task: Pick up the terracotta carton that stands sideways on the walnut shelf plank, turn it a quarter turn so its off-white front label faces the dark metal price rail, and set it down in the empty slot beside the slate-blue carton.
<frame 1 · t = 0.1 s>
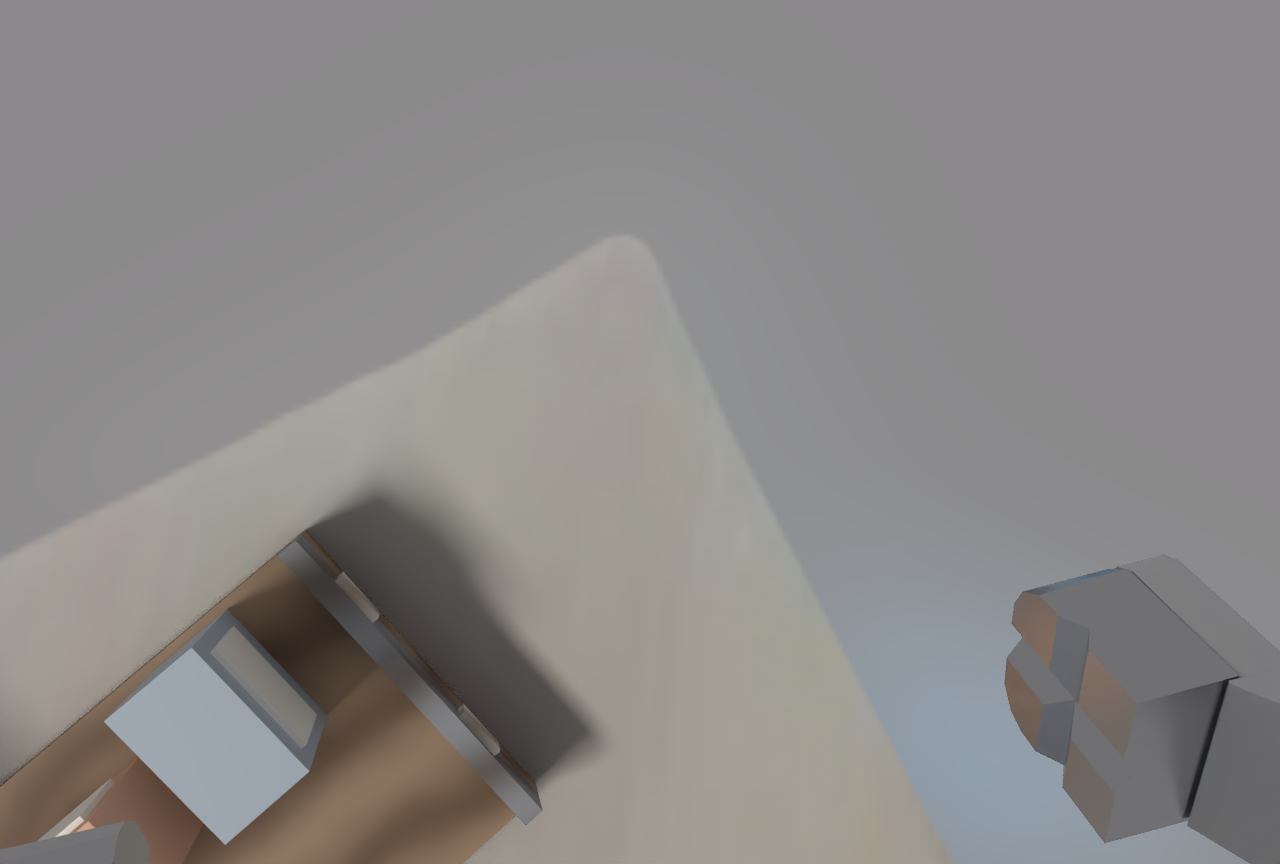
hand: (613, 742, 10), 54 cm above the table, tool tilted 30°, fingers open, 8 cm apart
terracotta carton: (79, 807, 58), point 2 cm above the table, touching shelf plank
shelf plank: (258, 802, 62), on the table
slate-blue carton: (277, 662, 60), point 2 cm above the table, touching shelf plank
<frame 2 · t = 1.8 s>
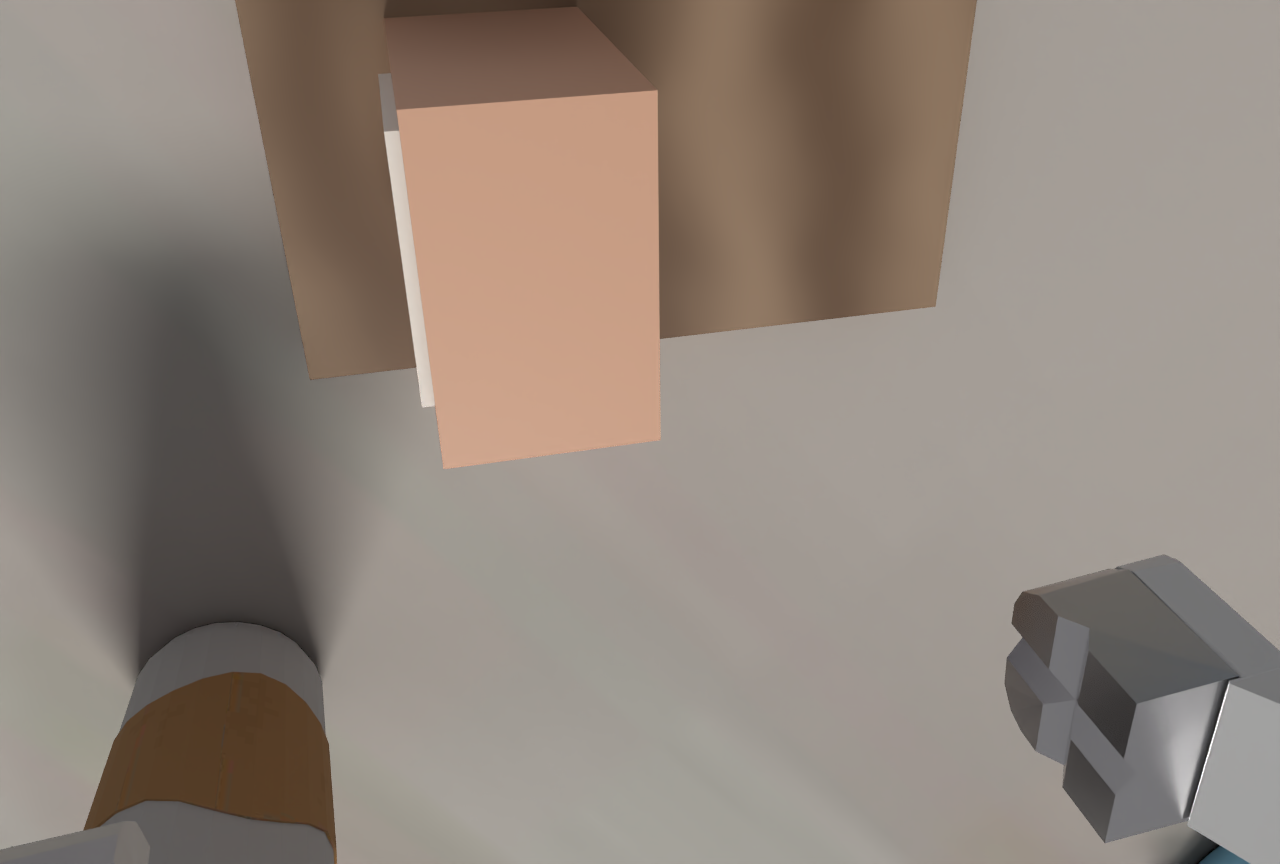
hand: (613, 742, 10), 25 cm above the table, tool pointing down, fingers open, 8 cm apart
terracotta carton: (403, 171, 30), point 2 cm above the table, touching shelf plank
teapot: (1253, 861, 63), on the table
coffee cup: (232, 680, 40), on the table
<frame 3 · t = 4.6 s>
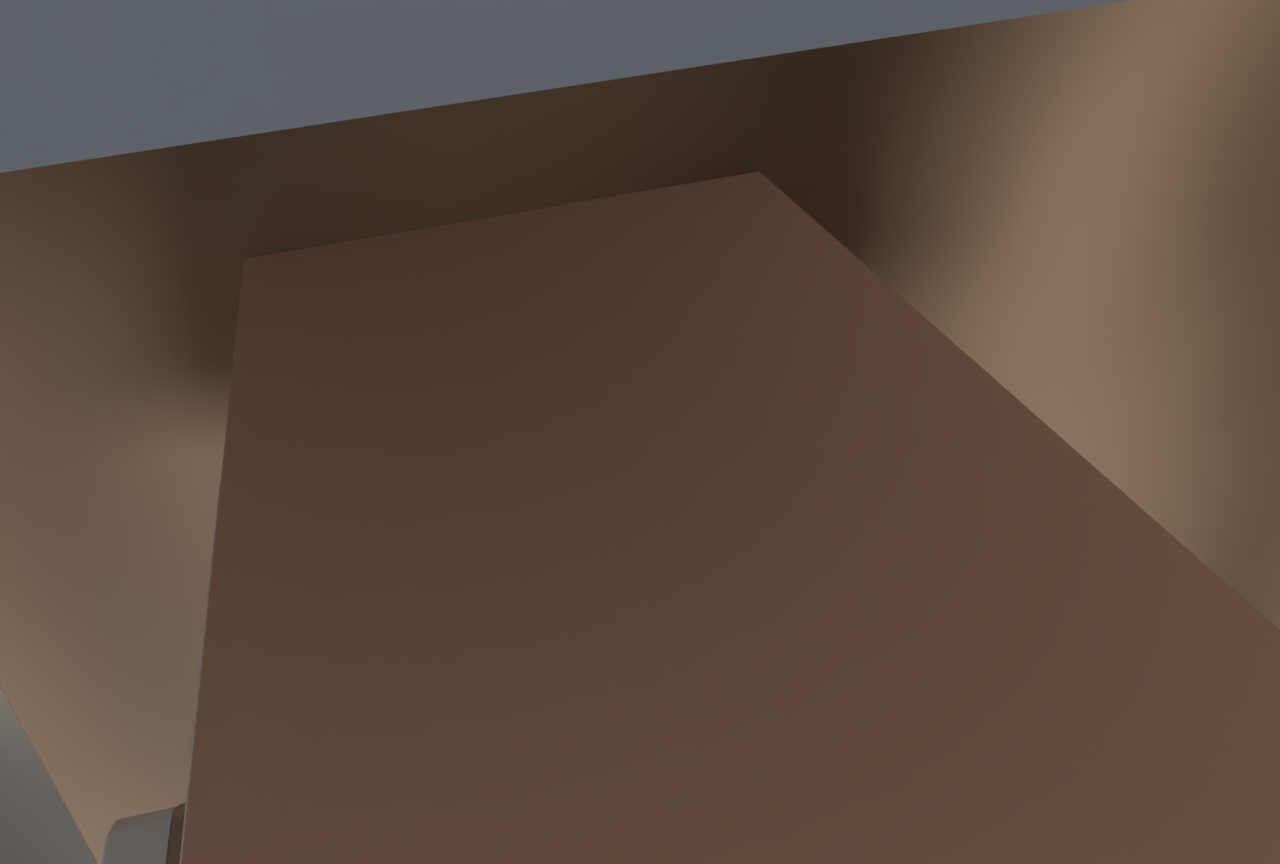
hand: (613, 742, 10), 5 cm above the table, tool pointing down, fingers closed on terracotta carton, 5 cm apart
terracotta carton: (340, 592, 12), point 2 cm above the table, touching gripper, shelf plank
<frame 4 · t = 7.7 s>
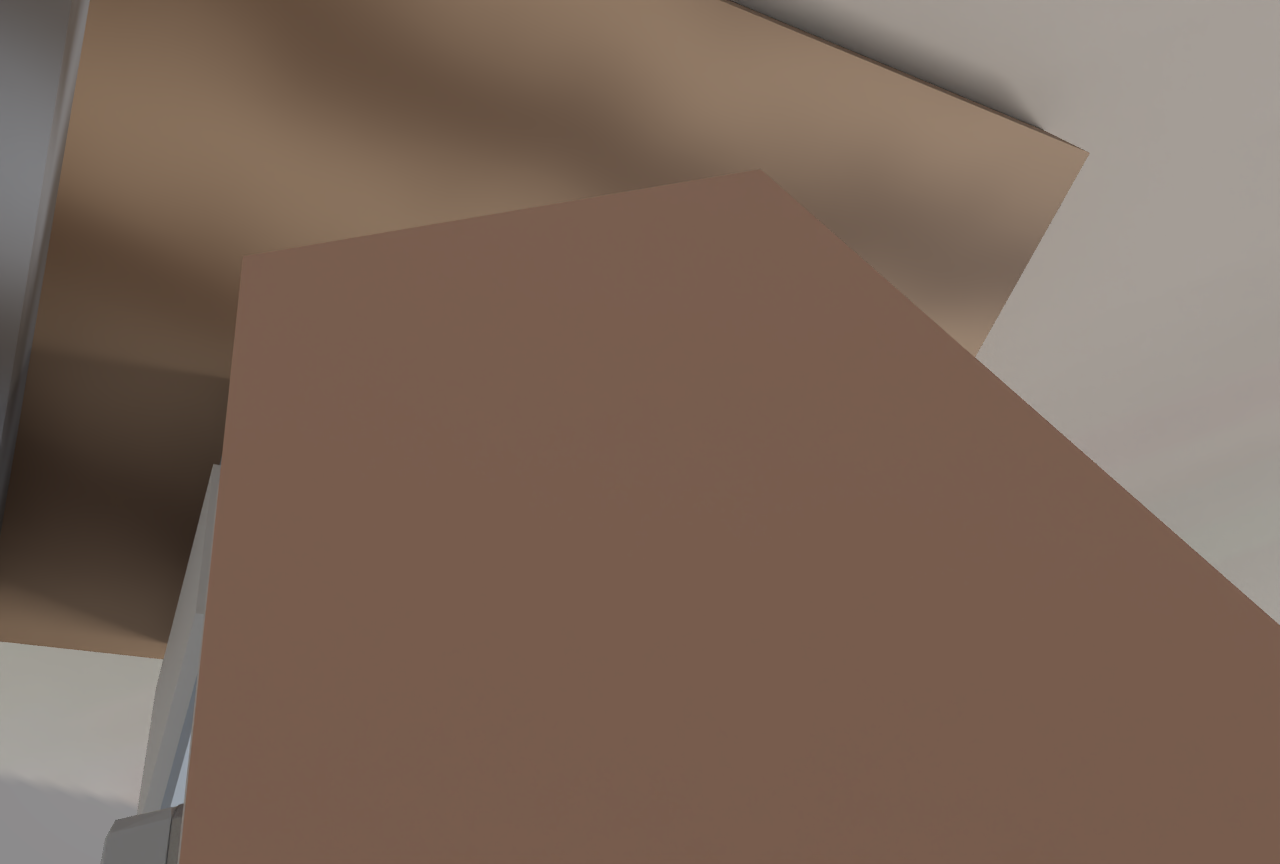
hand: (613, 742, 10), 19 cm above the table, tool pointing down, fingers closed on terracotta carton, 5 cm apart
terracotta carton: (340, 590, 12), point 16 cm above the table, touching gripper
shelf plank: (512, 350, 29), on the table
slate-blue carton: (204, 520, 27), point 2 cm above the table, touching shelf plank
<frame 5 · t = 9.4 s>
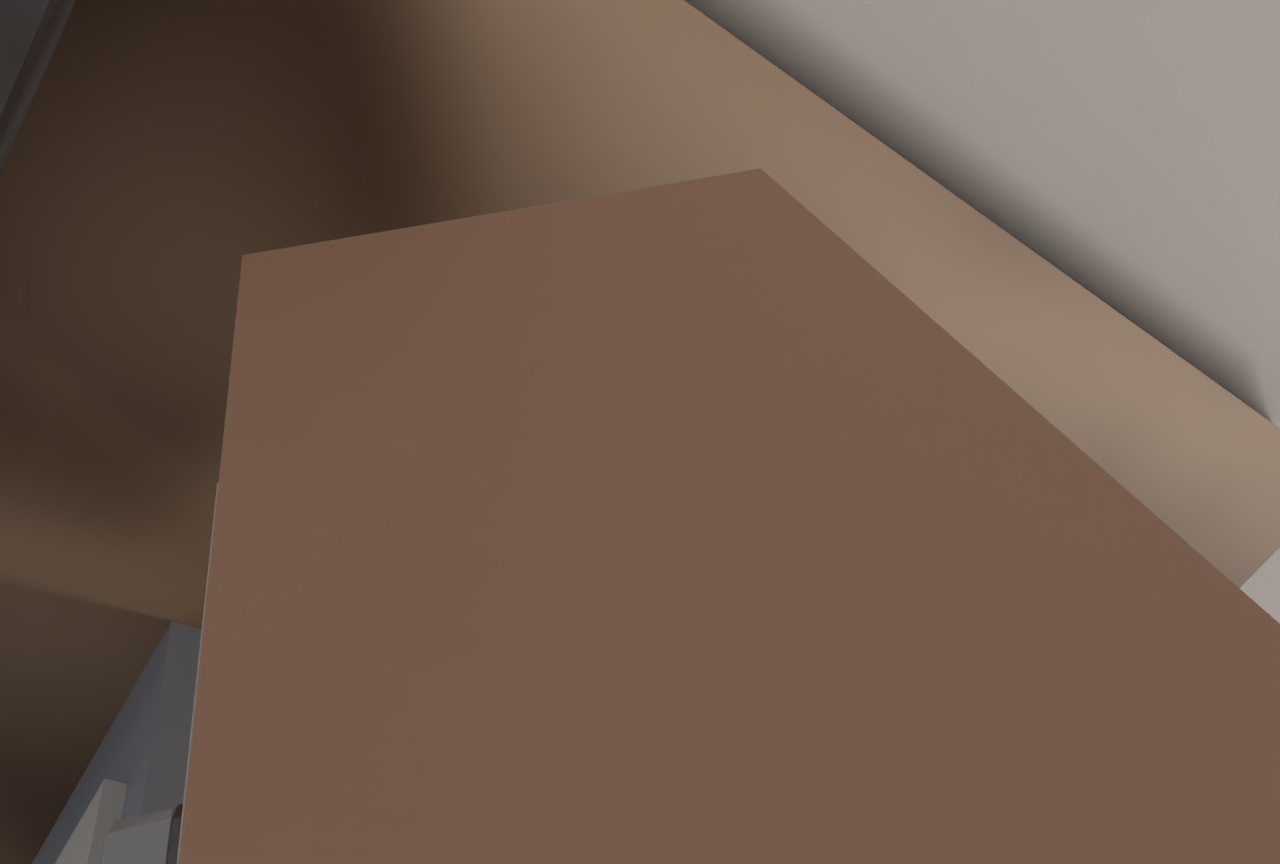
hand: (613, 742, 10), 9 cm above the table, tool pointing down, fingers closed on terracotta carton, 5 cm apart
terracotta carton: (339, 590, 12), point 6 cm above the table, touching gripper
shelf plank: (557, 596, 21), on the table
slate-blue carton: (69, 798, 18), point 2 cm above the table, touching shelf plank
when the fingers open (7 cm above the table, at t = 10.8 s): terracotta carton drops 1 cm, resting on shelf plank.
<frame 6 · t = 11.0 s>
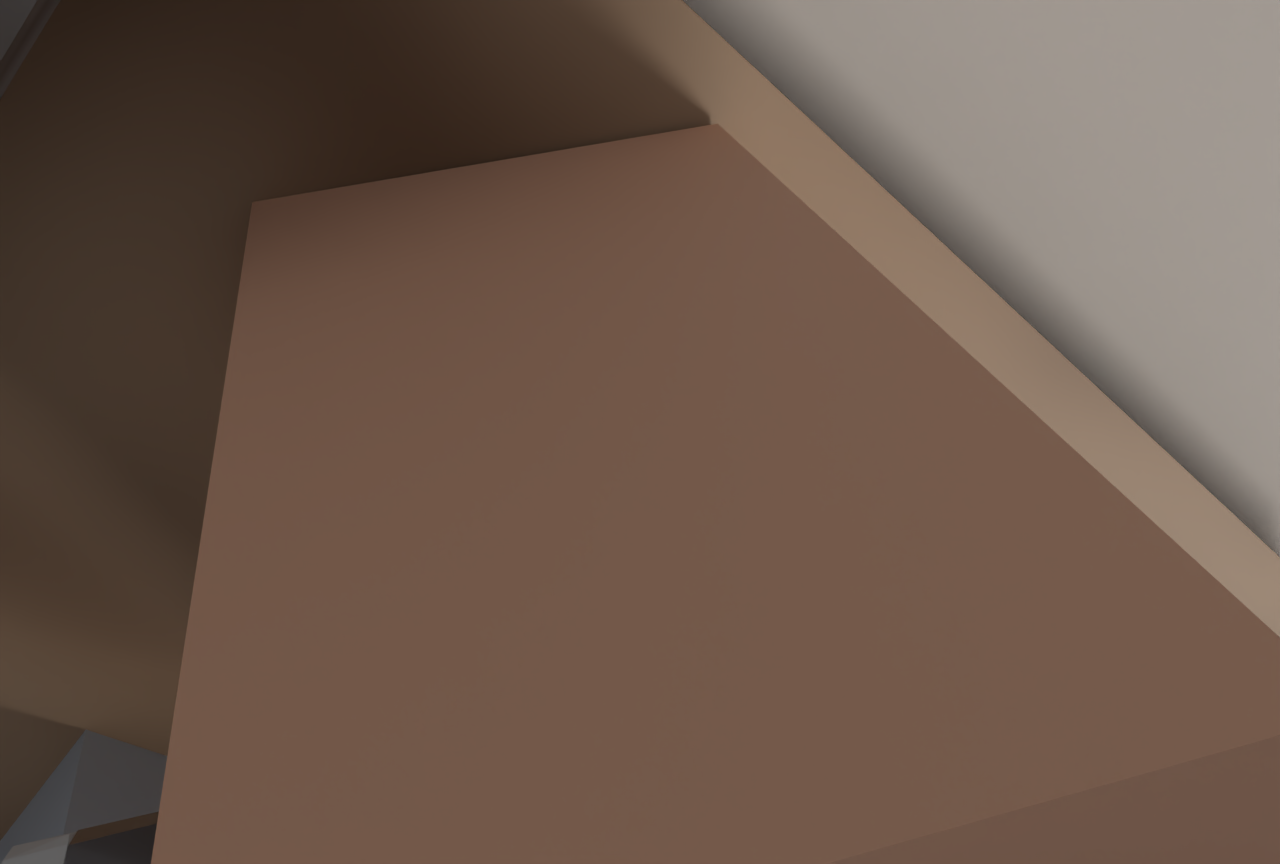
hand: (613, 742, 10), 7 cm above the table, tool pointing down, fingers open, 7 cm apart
terracotta carton: (344, 513, 13), point 2 cm above the table, touching shelf plank
shelf plank: (526, 708, 19), on the table
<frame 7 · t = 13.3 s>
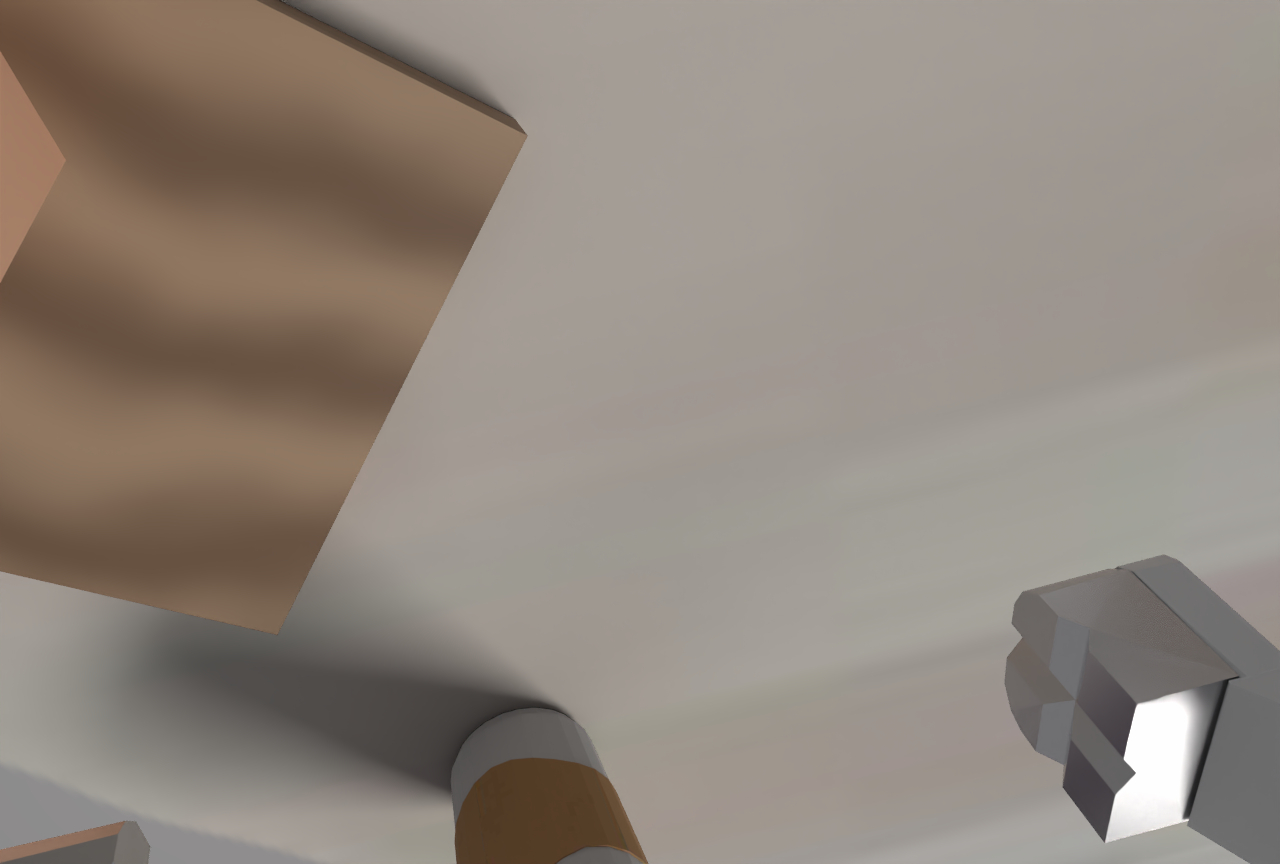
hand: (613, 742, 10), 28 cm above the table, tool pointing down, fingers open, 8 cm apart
shelf plank: (7, 244, 33), on the table
coffee cup: (519, 753, 49), on the table
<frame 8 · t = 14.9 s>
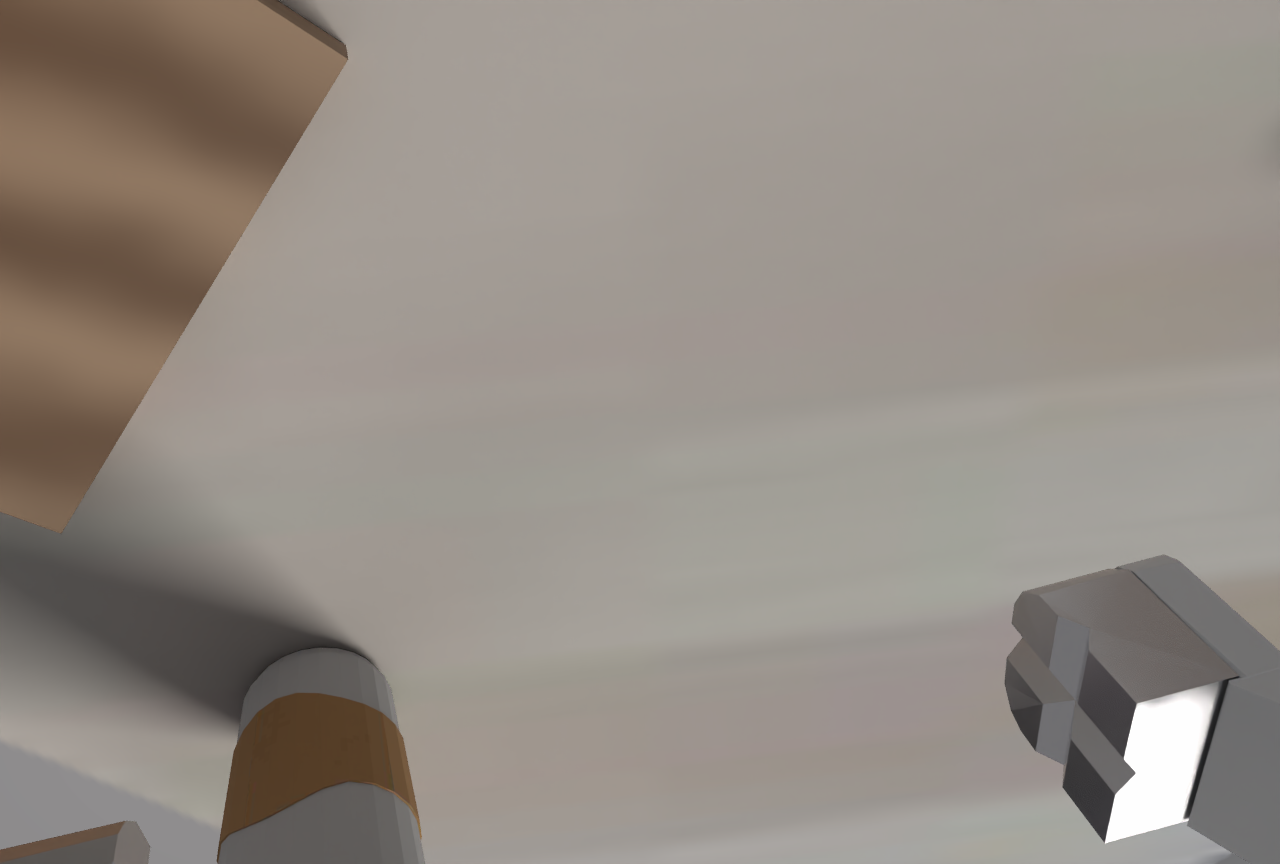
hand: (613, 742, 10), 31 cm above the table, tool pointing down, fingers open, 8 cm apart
coffee cup: (318, 694, 49), on the table
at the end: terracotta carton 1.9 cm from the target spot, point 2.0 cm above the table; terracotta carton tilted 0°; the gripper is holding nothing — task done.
